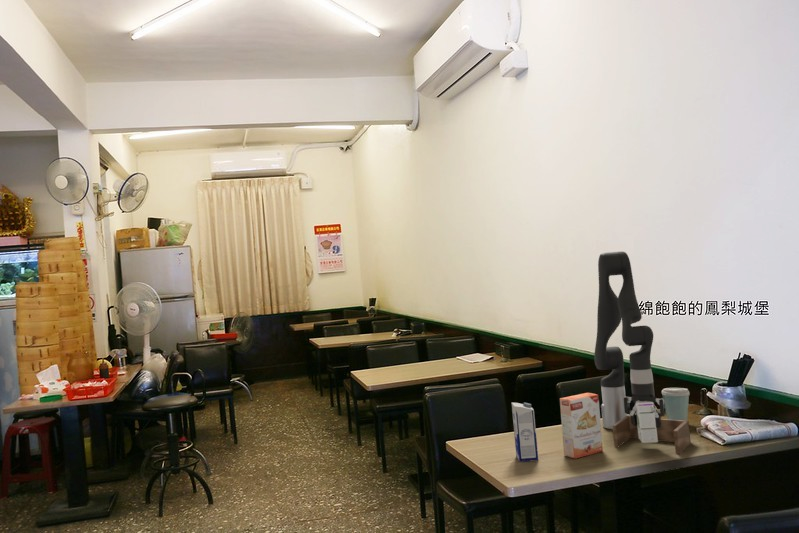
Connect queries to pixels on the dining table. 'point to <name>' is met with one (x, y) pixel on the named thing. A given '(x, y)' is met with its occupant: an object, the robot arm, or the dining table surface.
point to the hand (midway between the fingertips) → (646, 426)
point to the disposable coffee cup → (676, 403)
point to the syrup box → (646, 422)
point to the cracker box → (581, 425)
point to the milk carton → (524, 432)
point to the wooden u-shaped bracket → (666, 432)
